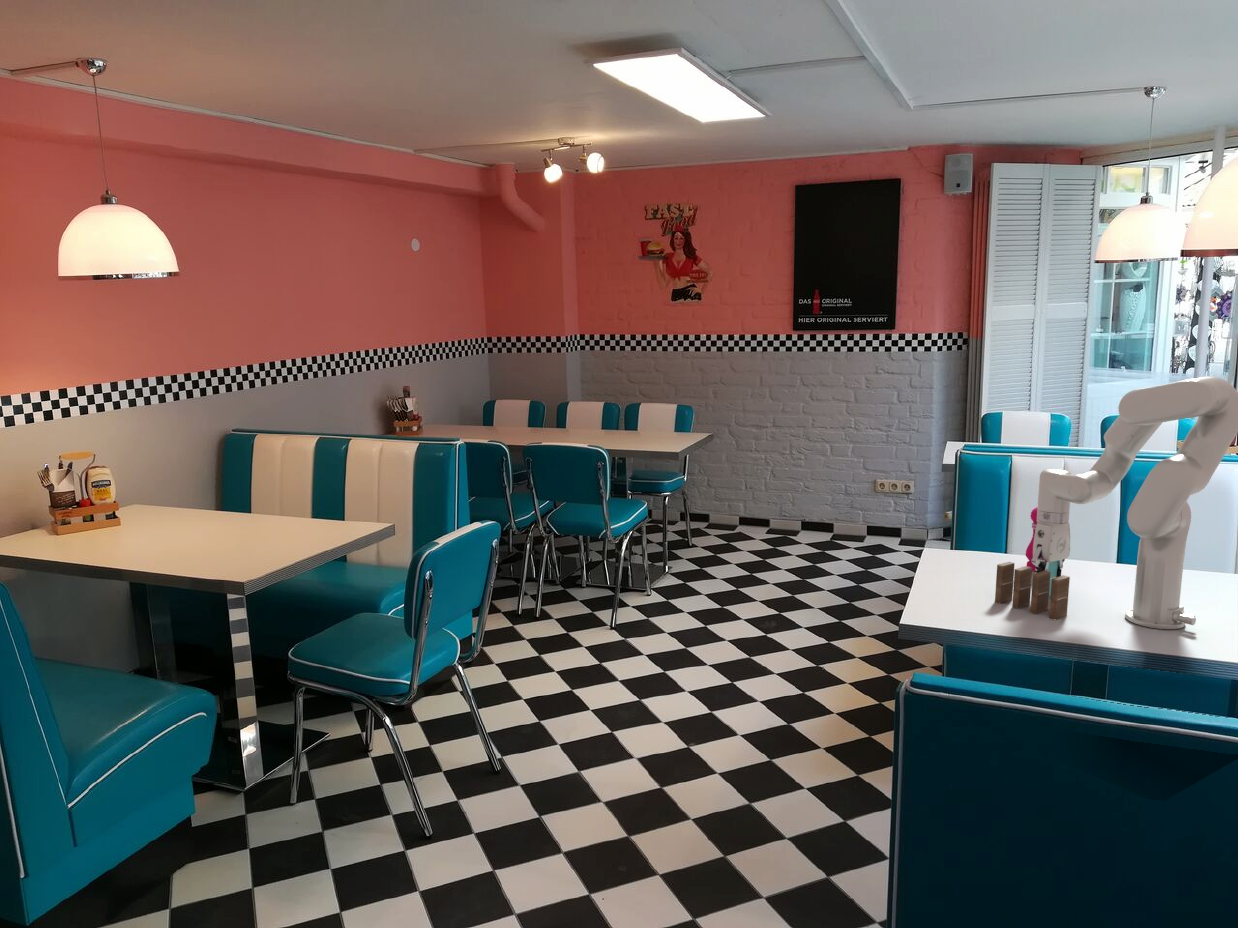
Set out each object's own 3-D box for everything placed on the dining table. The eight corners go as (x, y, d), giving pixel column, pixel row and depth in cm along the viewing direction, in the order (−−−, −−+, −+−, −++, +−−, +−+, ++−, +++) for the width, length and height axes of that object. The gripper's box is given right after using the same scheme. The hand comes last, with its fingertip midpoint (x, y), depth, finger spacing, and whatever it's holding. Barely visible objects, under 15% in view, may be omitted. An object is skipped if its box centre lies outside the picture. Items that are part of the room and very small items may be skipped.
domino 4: (1055, 595, 242) (1058, 558, 240) (1044, 598, 239) (1047, 561, 237) (1049, 593, 243) (1052, 557, 241) (1038, 596, 240) (1041, 560, 238)
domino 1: (1012, 600, 238) (1014, 563, 236) (1000, 603, 235) (1002, 566, 233) (1006, 598, 239) (1008, 561, 238) (994, 601, 237) (997, 564, 235)
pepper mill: (1046, 565, 268) (1051, 499, 265) (1055, 572, 261) (1060, 504, 258) (1021, 565, 269) (1025, 499, 266) (1029, 572, 262) (1034, 504, 259)
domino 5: (1066, 615, 225) (1069, 576, 224) (1055, 619, 223) (1058, 580, 221) (1060, 613, 227) (1063, 575, 225) (1048, 617, 224) (1051, 578, 222)
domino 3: (1048, 610, 230) (1050, 572, 228) (1036, 614, 227) (1038, 575, 225) (1041, 608, 231) (1044, 570, 229) (1030, 612, 228) (1032, 573, 227)
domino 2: (1029, 605, 234) (1032, 567, 232) (1018, 608, 231) (1020, 570, 229) (1023, 603, 235) (1026, 565, 233) (1012, 607, 232) (1014, 569, 231)
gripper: (1047, 524, 230) (1042, 593, 233) (1085, 515, 239) (1079, 582, 242) (1020, 518, 236) (1015, 586, 239) (1058, 510, 245) (1053, 575, 248)
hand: (1048, 583), depth 240 cm, fingers closed on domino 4, 4 cm apart
